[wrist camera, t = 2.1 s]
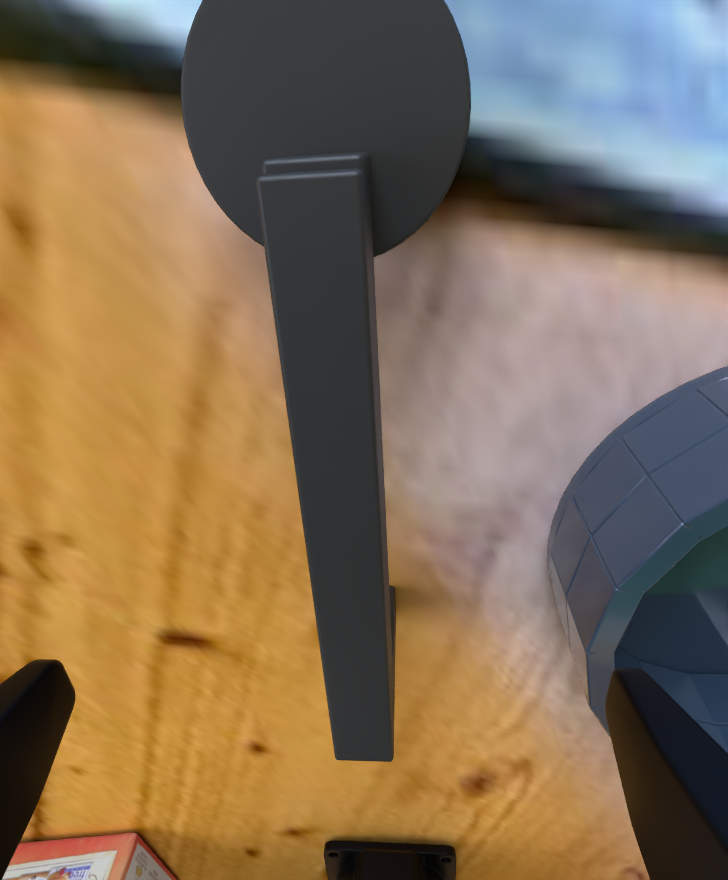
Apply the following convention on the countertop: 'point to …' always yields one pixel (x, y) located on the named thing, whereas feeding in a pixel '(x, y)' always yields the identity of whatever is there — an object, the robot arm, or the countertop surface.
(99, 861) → the cracker box
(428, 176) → the dark grey handle
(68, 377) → the countertop surface
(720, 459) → the bowl
